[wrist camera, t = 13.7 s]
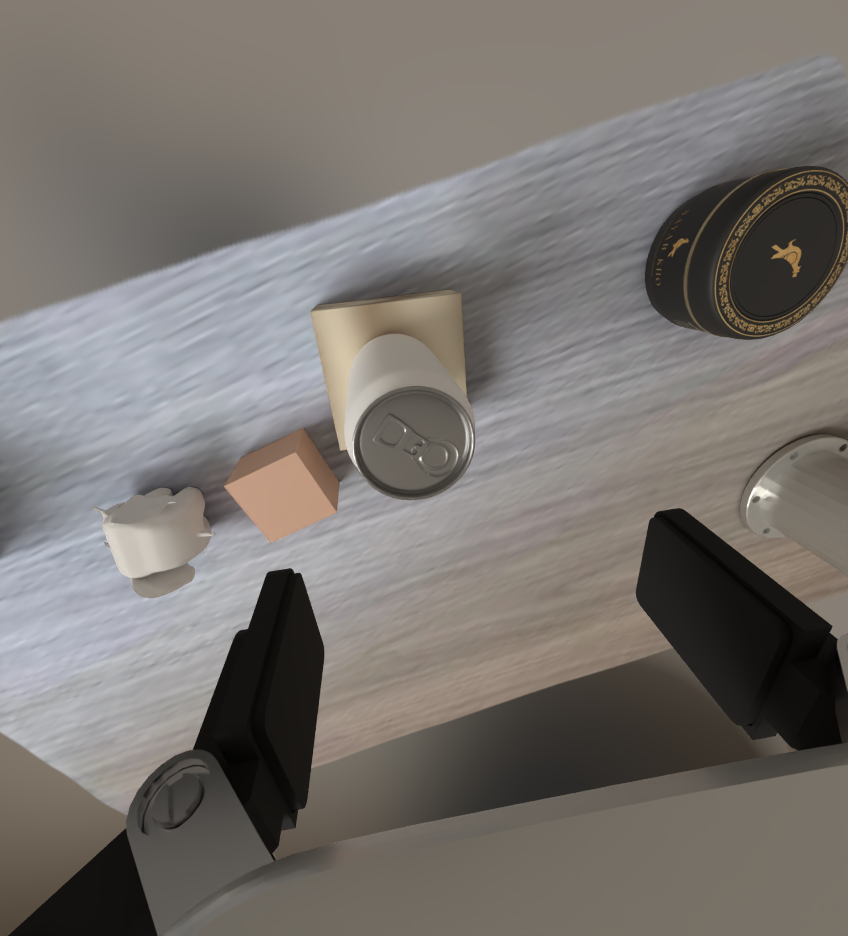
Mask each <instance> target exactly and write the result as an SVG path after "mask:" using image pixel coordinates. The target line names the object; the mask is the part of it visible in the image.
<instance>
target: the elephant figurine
mask: <svg viewBox="0 0 848 936" xmlns="http://www.w3.org/2000/svg"><path fill="white" fill-rule="evenodd" d="M204 508H205V501H204V497H203V495H202V493H201V491H200V490H198V489H197V488H193V487H186V488H184V489H183V490H181V491H180V492H179V493H177V494H176V495H174V496H173V493H172V490H170V489H168V488H158V489H155V490H153V491H151V492H149V493H148V494H146V495H144V496H142V495H135V496H133V497H131V498H130V499H129V500H128V501H127V502H124V503H120V504H117V505H114V506H112V507H111V508H109V509H108V510H107V511H105V510H102V509H99V508H96V507H94V508H91V509H93V510H97V511H99V512H101V513H102V515H103V519H104V522H103V524H102V526H103V529H104V532H105V535H106V538H107V540H108V543H109V544H108V543H106V542H104V543H105V545H106V546H107V547H108V548H109V549H110V550H111V551H112V554H113V557H114V559H115V562H116V564H117V567H118V569H119V570H120V572H121V573H122V574H123V575H125V576H127V577H130V578H131V581H132V587H133V590H134V591H135V592H136V593H137V594H138V595H140V596H142V597H146V598H156V597H160V596H163V595H165V594H168V593H170V592H172V591H174V590H176V589H178V588H180V587H182V586H184V585H185V584H187V583H189V582H191V581H192V580H193V578H194V575H195V568H194V567H192V566H190V565H189V564H188V563H187V562H188V561H190V560H191V559H193V558H194V557H196V556H197V555H198V554H199V553H201V552H202V551H203V550H204V549H205V548H206V547H207V545H208V543H209V541H210V538H211V536H215V533H211V528H210V525H209V522H208V520H207V519H206V518H205V517H204V516H203V513H204Z"/></svg>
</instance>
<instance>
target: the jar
mask: <svg viewBox="0 0 848 936" xmlns="http://www.w3.org/2000/svg"><path fill="white" fill-rule="evenodd" d="M847 261H848V183H847V182H846V180H845V179H844V178H843V177H842V176H840V175H839V174H837V173H836V172H834V171H832V170H830V169H827V168H823V167H816V166H804V167H795V168H789V169H777V170H772V171H767V172H764V173H761V174H758V175H756V176H754V177H749V178H745V179H740V180H735V181H731V182H727V183H723V184H720V185H717V186H714V187H712V188H709V189H707V190H705V191H703V192H702V193H700V194H698V195H697V196H695V197H693V198H692V199H690V200H688V201H687V202H686V203H684V204H683V205H682V206H680V207H679V208H678V209H677V210H676V211H675V212H674V213H673V214H672V215H671V216H670V217H669V218H668V219H667V221H666V222H665V223H664V225H663V226H662V227H661V229H660V231H659V232H658V234H657V236H656V238H655V240H654V242H653V244H652V246H651V249H650V252H649V255H648V259H647V263H646V271H645V284H646V290H647V294H648V297H649V300H650V302H651V304H652V305H653V307H654V308H655V309H656V310H657V311H658V312H659V313H660V314H661V315H662V316H663V317H665V318H666V319H668V320H669V321H671V322H672V323H674V324H676V325H679V326H682V327H685V328H689V329H694V330H699V331H704V332H708V333H710V334H713V335H716V336H720V337H729V338H735V339H744V340H751V339H761V338H766V337H769V336H772V335H775V334H778V333H780V332H782V331H784V330H786V329H788V328H790V327H792V326H793V325H795V324H796V323H798V322H799V321H801V320H802V319H803V318H805V317H806V316H807V315H808V314H809V313H810V312H811V311H813V310H814V309H815V308H816V307H817V306H818V305H819V304H820V302H821V301H822V300H823V299H824V298H825V297H826V295H827V294H828V293H829V292H830V290H831V289H832V288H833V286H834V285H835V283H836V282H837V280H838V278H839V277H840V275H841V273H842V271H843V269H844V268H845V265H846V263H847Z"/></svg>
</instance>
